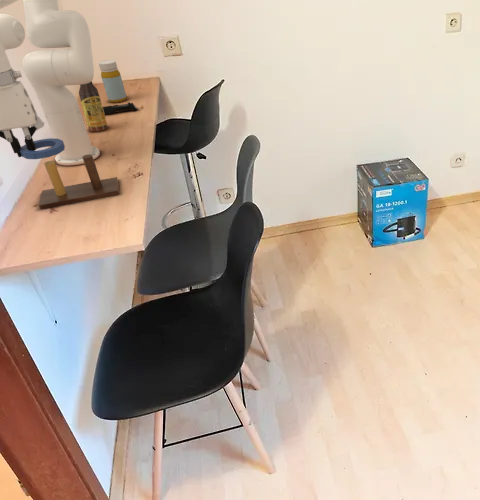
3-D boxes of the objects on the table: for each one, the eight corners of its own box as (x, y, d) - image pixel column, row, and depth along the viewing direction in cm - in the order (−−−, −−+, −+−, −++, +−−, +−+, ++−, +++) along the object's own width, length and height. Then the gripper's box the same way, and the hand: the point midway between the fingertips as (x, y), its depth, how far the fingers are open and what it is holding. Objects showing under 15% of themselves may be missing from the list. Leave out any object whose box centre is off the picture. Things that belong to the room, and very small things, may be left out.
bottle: (114, 97, 208) (103, 59, 200) (130, 97, 207) (120, 59, 199) (105, 103, 203) (93, 64, 194) (121, 103, 202) (110, 64, 193)
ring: (24, 148, 130) (22, 142, 130) (65, 141, 133) (63, 136, 132) (20, 162, 123) (17, 155, 122) (63, 155, 126) (61, 148, 125)
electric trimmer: (93, 115, 192) (90, 106, 190) (136, 108, 196) (134, 100, 194) (93, 118, 189) (90, 109, 187) (137, 111, 193) (134, 102, 191)
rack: (43, 194, 138) (29, 159, 132) (118, 180, 143) (107, 146, 138) (40, 209, 131) (25, 173, 125) (119, 194, 137) (107, 159, 131)
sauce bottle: (92, 134, 174) (73, 74, 163) (86, 129, 178) (67, 71, 167) (111, 129, 178) (94, 70, 167) (105, 124, 182) (88, 67, 171)
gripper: (36, 71, 122) (62, 143, 132) (-40, 79, 117) (-7, 154, 128) (33, 78, 116) (60, 154, 126) (-48, 88, 111) (-12, 165, 122)
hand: (26, 153), depth 127 cm, fingers closed on ring, 2 cm apart
